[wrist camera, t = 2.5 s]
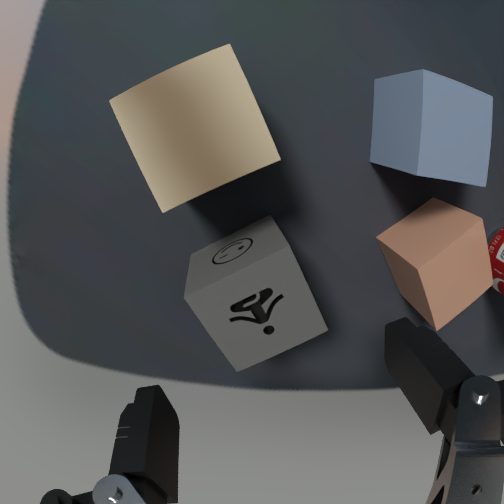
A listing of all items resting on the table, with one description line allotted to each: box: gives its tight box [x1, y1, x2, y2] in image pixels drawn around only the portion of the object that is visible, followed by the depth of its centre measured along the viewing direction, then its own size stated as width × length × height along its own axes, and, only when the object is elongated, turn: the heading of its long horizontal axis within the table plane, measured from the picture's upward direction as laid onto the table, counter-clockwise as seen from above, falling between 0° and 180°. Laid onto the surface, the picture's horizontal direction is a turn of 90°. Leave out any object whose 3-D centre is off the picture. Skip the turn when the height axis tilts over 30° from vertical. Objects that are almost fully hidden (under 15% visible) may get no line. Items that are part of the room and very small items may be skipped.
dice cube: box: [184, 215, 328, 372], centre depth 17 cm, size 5×5×5 cm
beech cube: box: [109, 44, 281, 213], centre depth 13 cm, size 5×5×5 cm
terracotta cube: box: [376, 197, 493, 331], centre depth 17 cm, size 5×5×5 cm
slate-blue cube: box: [370, 69, 493, 187], centre depth 14 cm, size 5×5×5 cm
